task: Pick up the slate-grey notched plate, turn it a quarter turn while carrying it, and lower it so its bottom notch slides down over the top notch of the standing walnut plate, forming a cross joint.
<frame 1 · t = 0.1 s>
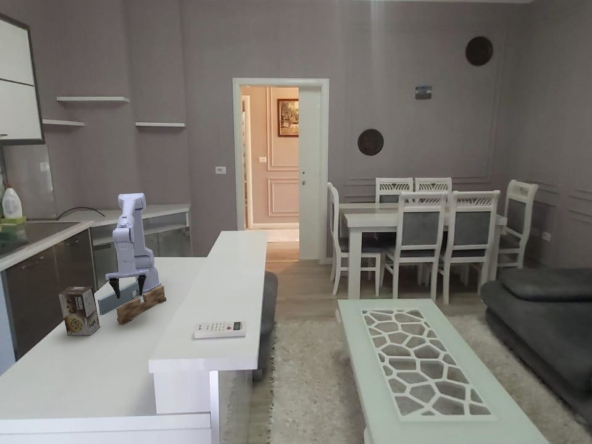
hand: (130, 296, 142), 11 cm above the counter, tool pointing down, fingers open, 7 cm apart
coffee box: (83, 331, 139), on the counter
walnut slotted plate: (143, 310, 153), on the counter
grey notched plate: (122, 303, 160), on the counter
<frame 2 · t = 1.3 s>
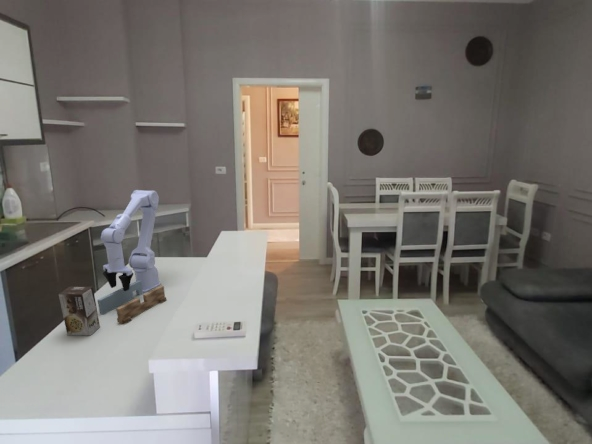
hand: (120, 288, 158), 7 cm above the counter, tool pointing down, fingers open, 7 cm apart
nothing on the counter moved.
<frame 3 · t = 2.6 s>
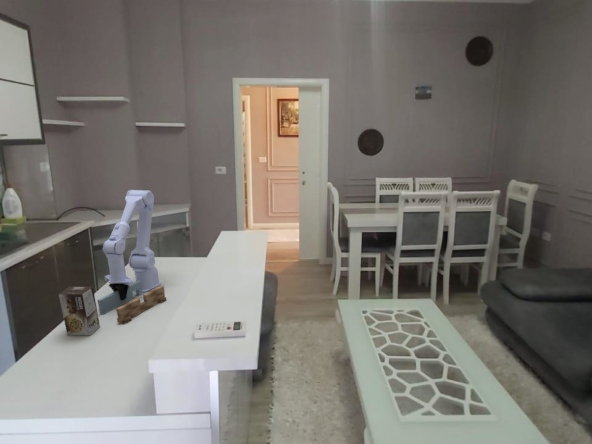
hand: (121, 298, 159), 2 cm above the counter, tool pointing down, fingers closed on grey notched plate, 2 cm apart
grey notched plate: (122, 303, 160), on the counter, touching gripper
everything else where it was.
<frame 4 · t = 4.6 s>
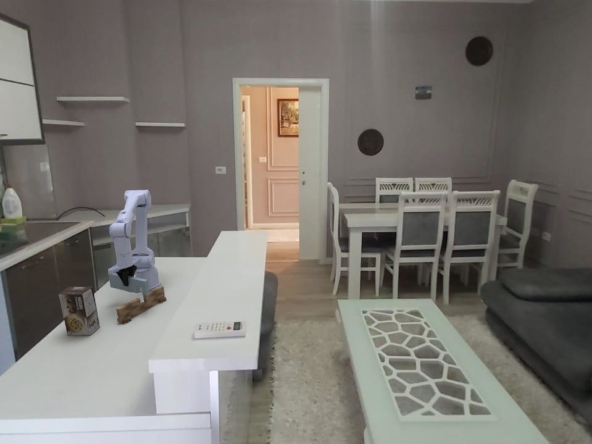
hand: (128, 284, 153), 10 cm above the counter, tool pointing down, fingers closed on grey notched plate
grey notched plate: (129, 290, 154), point 7 cm above the counter, touching gripper
everything else where it was.
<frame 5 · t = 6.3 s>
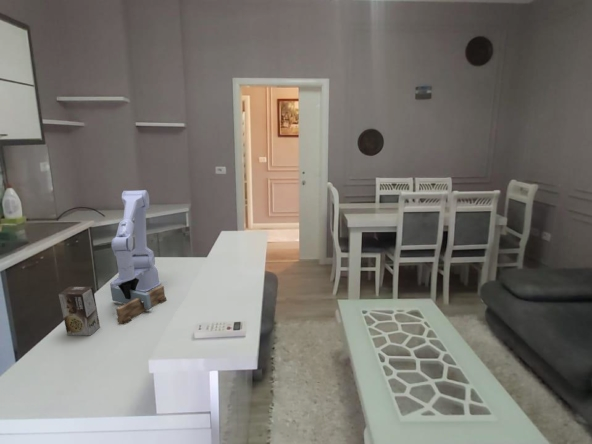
hand: (130, 297, 155), 4 cm above the counter, tool pointing down, fingers closed on grey notched plate, 2 cm apart
grey notched plate: (131, 304, 155), point 2 cm above the counter, touching gripper
everything else where it was.
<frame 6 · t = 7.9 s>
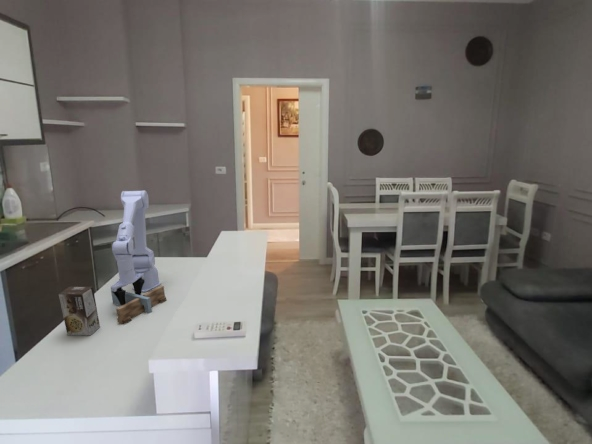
hand: (130, 300, 155), 3 cm above the counter, tool pointing down, fingers open, 7 cm apart
grey notched plate: (132, 307, 156), on the counter, touching walnut slotted plate
everything else where it was.
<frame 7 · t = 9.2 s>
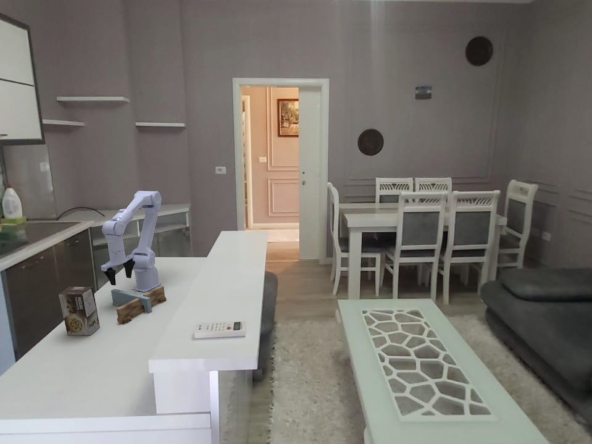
hand: (121, 281, 158), 9 cm above the counter, tool pointing down, fingers open, 7 cm apart
nothing on the counter moved.
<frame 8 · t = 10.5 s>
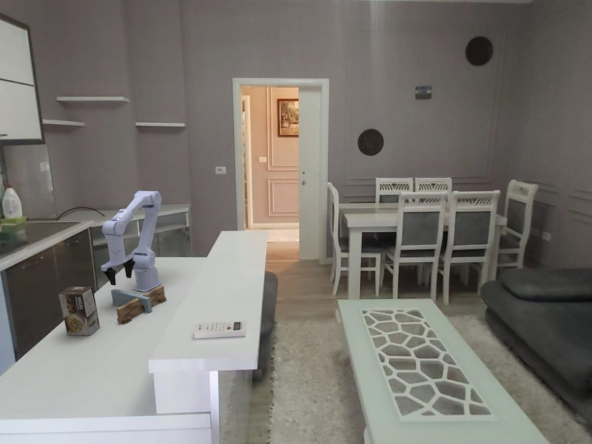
hand: (121, 281, 158), 9 cm above the counter, tool pointing down, fingers open, 7 cm apart
nothing on the counter moved.
at the end: grey notched plate 0.2 cm from the target spot on the counter beside the walnut slotted plate, on the counter; grey notched plate tilted 0°; the gripper is holding nothing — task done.
